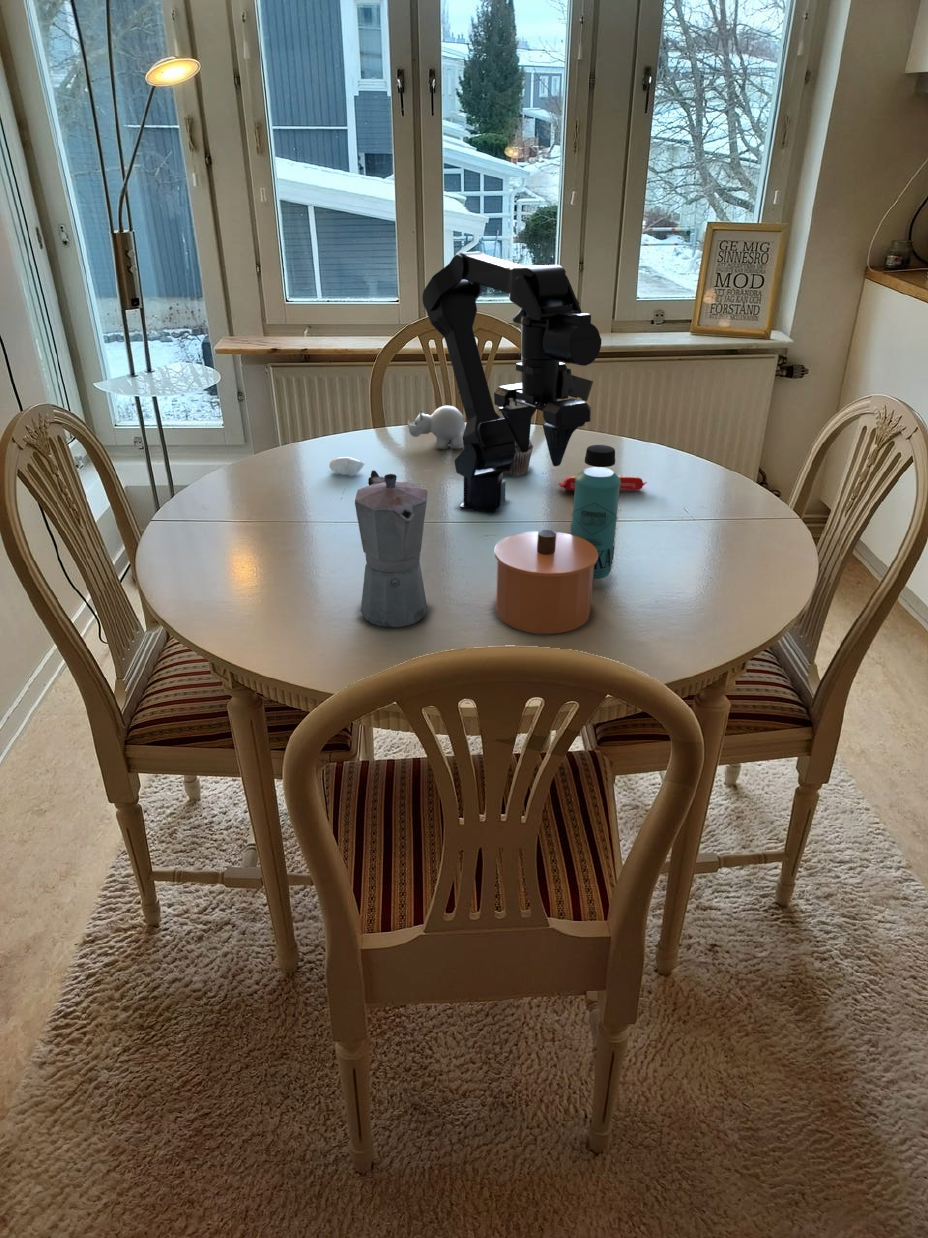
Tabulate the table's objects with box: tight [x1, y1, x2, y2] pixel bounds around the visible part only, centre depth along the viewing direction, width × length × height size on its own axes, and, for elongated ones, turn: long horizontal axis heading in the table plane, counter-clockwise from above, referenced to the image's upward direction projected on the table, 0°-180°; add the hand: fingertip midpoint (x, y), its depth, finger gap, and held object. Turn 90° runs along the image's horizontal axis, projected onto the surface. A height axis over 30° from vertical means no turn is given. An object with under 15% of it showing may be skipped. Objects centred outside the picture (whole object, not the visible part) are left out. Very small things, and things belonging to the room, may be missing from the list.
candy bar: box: [558, 475, 648, 492], centre depth 158 cm, size 16×4×3 cm, turn 92°
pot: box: [495, 560, 594, 635], centre depth 115 cm, size 13×13×8 cm
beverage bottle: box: [569, 444, 621, 580], centre depth 121 cm, size 6×7×20 cm
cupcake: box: [501, 417, 534, 477], centre depth 167 cm, size 10×10×10 cm
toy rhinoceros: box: [407, 405, 466, 450], centre depth 180 cm, size 7×12×8 cm, turn 89°
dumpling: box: [328, 456, 365, 477], centre depth 166 cm, size 7×5×4 cm
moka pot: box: [354, 469, 428, 628], centre depth 112 cm, size 10×15×20 cm, turn 27°
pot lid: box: [494, 529, 598, 577], centre depth 113 cm, size 14×14×4 cm
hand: (540, 458), depth 135 cm, fingers open, 9 cm apart
